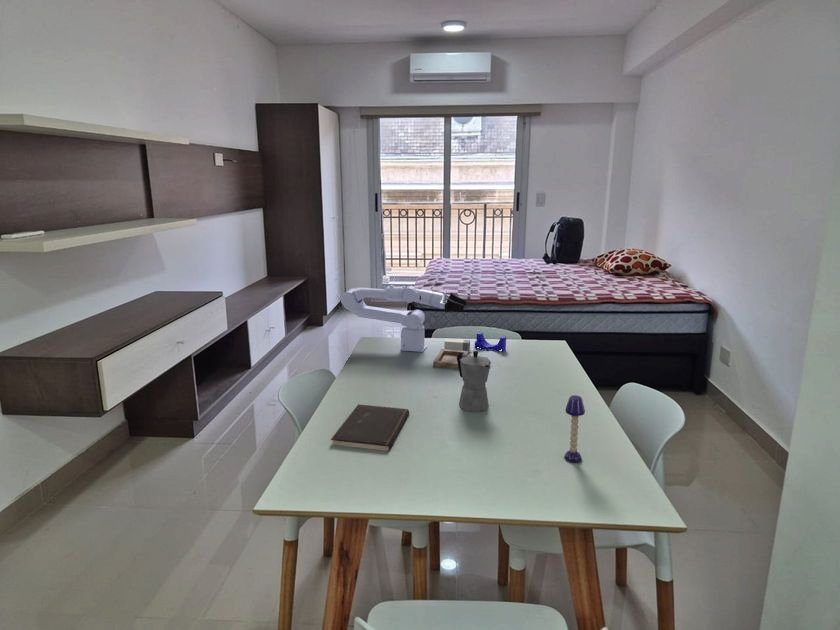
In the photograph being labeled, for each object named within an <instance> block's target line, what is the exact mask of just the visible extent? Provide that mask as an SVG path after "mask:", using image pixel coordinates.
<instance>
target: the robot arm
mask: <svg viewBox="0 0 840 630" xmlns="http://www.w3.org/2000/svg"><path fill="white" fill-rule="evenodd" d="M366 298H384V299H386V300H387V301H393V302H395V301H399V302H401V301H402V302H403V301H405V302H406V303H407V304H410V303H413V302H414V303H418V304H421V305H427V306H431V307H436V308H439V309H444V313H448V312H462V311H465V307H466V306H467V300H466V299H464V298H462V297H460V296H458V295H456V294H455V293H454V292H450V293H449V294H447V291H445V290H444V291H443V293H441V292H437V291H431V290H428V289H427V290H426V289H424V288H423V289H420V288H418V287H416V286H414V285H411V284H410V285H407V286H406V285H402V286H395V285H394V284H390V285H389V286H387V287H385V288H384V289H383V288H373V287H370V288H369V287H351V288H349V289H348V290H347V291H344V292H343V293H342V294H341V295H340V303H341V305H342V306H343V308H344V309H346V310H348V311H350V312H351V313H353V314H354V315H356V316H357V317H359V318H363V319H369V320H375V321H376V320H378V321H381V322H382V321H384V322H389V323H397V324H400V325H402V326H403V327H402V328H401V331H400V351H403V352H405V351H407V352H418V353H421V352H422V353H423V352H424V351H425V350H426V348H427V346H428V345H427V344H425V329H426V328H425V326H424V322H425V320H426V315H425V314H426V313H425V312H424V311H422V310H421V309H414V310H399V309H398V310H397V309H389V308H384V307H377V306H372V305H371V306H370V305H367V304H366V303H365V301H364V299H366Z"/></svg>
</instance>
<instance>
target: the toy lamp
mask: <svg viewBox="0 0 840 630" xmlns="http://www.w3.org/2000/svg"><path fill="white" fill-rule="evenodd" d="M564 412H565V413H566V415H567V414H568V415H569V416H571V420H570V423H571V424H570V429H571V430H570V435H569V436H570V437H569V438H570V442H569V445H570V447H569V450H567V451H566V452H565V453H564V457H563V458H564V460H565V461H567V462H569V463H574V464H577V463H580V462H582V454H581V453H580V452H579V451H578V433H579V432H578V431H579V430H578V429H579V417H580V416H583V415H585V414H586V410H585V406H584V401H583V398H582V396H581V395H576V394H574V395H571V396H569V398H568V401H567V403H566V406H565V411H564Z"/></svg>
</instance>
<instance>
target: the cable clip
mask: <svg viewBox="0 0 840 630" xmlns="http://www.w3.org/2000/svg"><path fill="white" fill-rule="evenodd" d="M477 347H479V348H481V349H480V350H482V349H486V350H485V351H489V350H488V349H493V350H492V351H494V350H498V351H497V352H500V351H499V350H501V349H502V352H501V353H504V352H505V351H507V349H506V348H507V336H506V335H505V336H504V335H503V336H500V338H499V341H498V343H497V344H491V343H489V342H487V340H486V338H485V337H484V332H480V331H479V332H477V333H476V340H475V341H474V349H477ZM503 351H504V352H503Z"/></svg>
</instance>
